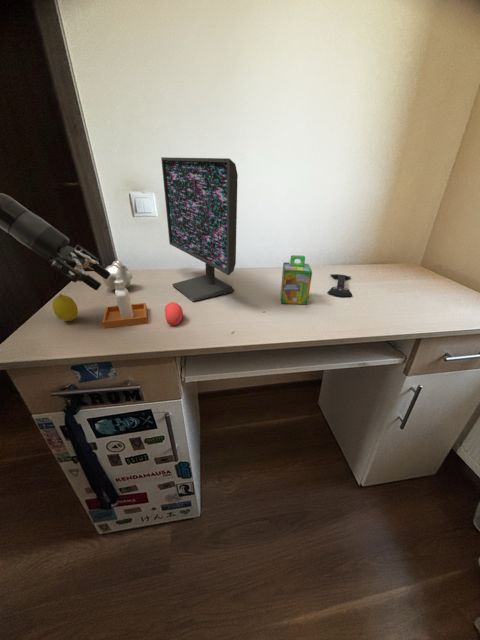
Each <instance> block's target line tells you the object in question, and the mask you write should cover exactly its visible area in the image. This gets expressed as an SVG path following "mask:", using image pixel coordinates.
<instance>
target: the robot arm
mask: <svg viewBox="0 0 480 640" xmlns="http://www.w3.org/2000/svg"><path fill="white" fill-rule="evenodd" d="M0 229H2V230H3V231H5V232H6V233H7V234H9V235H10V236H12V237H13V238H14V239H15V240H16V241H18V242H19V243H20V244H22V245H23V246H25V247H27V249H30V251H32V252H34V253H36V254H37V255H38V256H40V257H42V258H43V259H45V260H46V261H47V262H52V263H51V264H50V267H51V268H52V269H54V270H55V271H57V272H58V273H60V274H61V275H62V276H64V277H66V278H67V279H69V280H70V281H71V282H73V283H77V282H79V283H80V282H81V283H84V284H85V285H87V286H88V287H90V288H91V289H93V290H94V291H98V290H99V289H100V288H101V286H102V283H101V282H100V281H98V280H97V279H96V278H94V277H92V276H91V275H90V274H88V273H87V272H86V271H85V269H89V270H92V271H93V272H95V274H97V275H99V276H100V277H101V278H102V277H103V278H104V279H107V278H108V277H109V276H110V275H111V273H110V272H109V271H107V270H106V269H105V267H103V266H102V265H100V263H99V258H98V257H96V256H95V255H93V253H91V252H90V251H88V250H87V249H85V248H84V247H82V246H81V245H79V244H76V245H75V247H73V246H70V238H69V237H68V236H67V235H65V234H64V233H62V232H61V231H59V230H58V229H57V228H55V227H54V226H52V225H51V224H50V223H48V222H47V221H46V220H44V219H43V218H42V217H41V216H39V215H37V214H35V213H33V212H32V211H30V210H29V209H27V208H26V206H23V205H22V204H21V203H19V201H17V200H15V199H14V198H13V197H11V196H10V195H9V194H6V193H3V192H2V193H1V192H0ZM103 278H102V279H103Z"/></svg>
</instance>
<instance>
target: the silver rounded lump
mask: <svg viewBox="0 0 480 640" xmlns="http://www.w3.org/2000/svg"><path fill="white" fill-rule="evenodd" d="M111 263H112V264H110V265H108V266H106V267H104V269H106V270H107V271H109V272H110V273H111V275H110V276H109V277H108V278H107V279H104V278H103V277H102V276H101V278H102V281H103V283H104V285H105V286H107V288H108V289H109V290H113V291H115V290H116V288H115V284H114V281H116V276H119V277H120V279H121V280H123V281H124V284H125V288H126V289H128V287H129V286H130V285H131V281H132V279H133V273H132V272H130V271H129V267H128V266H126V264H125V263H124V262H123V261H121V260H118V259H117V260H114V261H112V262H111Z"/></svg>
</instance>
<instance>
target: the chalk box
mask: <svg viewBox="0 0 480 640" xmlns="http://www.w3.org/2000/svg"><path fill="white" fill-rule="evenodd" d="M295 260H300V262H296V261H295ZM305 262H306V256H305V255H296V254H295V255H290V261H289V262H282V264H283V265H282V275H281V285H280V303H281V304H289V305H290V304H291V305H305V306H306V305H308V302H309V295H310V290H311V289H310V288H311V283H312V277H313V270H312V269H311V266H310V264H309V263H305Z"/></svg>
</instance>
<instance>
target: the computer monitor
mask: <svg viewBox="0 0 480 640" xmlns="http://www.w3.org/2000/svg"><path fill="white" fill-rule="evenodd" d="M160 158H161V171H162V181H163V190H164V201H165V202H164V203H165V212H166V220H167V221H166V223H167V231H168V241H169V245H170V246H172V247H174V248H175V249H178V250H179V251H182V252H184V253H185V254H188V255H189V256H191V257H193V258H195V259H196V260H199V261H201V262H203V263H205V274H203V275H199V276H197V277H192V278H189V279H185V280H180V281H178V282H174V283H172V284H171V285H172V287H174V288H175V289H177V290H178V291H179V292H180V293H182V294H183V295H185V296H186V297H187V298H188V299H189V300H191V301H192V302H199V301H202V300H206V299H212V298H214V297H218V296H223V295H226V294H231V293H233V292H234V291H235V289H234V288H233V286H232V285H230V284H228V283H226V282H225V281H223V280H222V279H220V278H218V277H217V276H216V270H217V271H219V272H221V273H223V274H225V275H227V276H229V275H231V274H232V273H234V271H235V268H236V264H237V227H238V225H237V222H238V221H237V219H238V176H239V175H238V169H237V165H236V163H235V162H234V161H233V160H232V159H231V158H226V157H225V158H224V157H222V158H221V157H219V158H218V157H167V156H166V157H162V156H161V157H160ZM215 269H216V270H215ZM235 292H236V291H235Z"/></svg>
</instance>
